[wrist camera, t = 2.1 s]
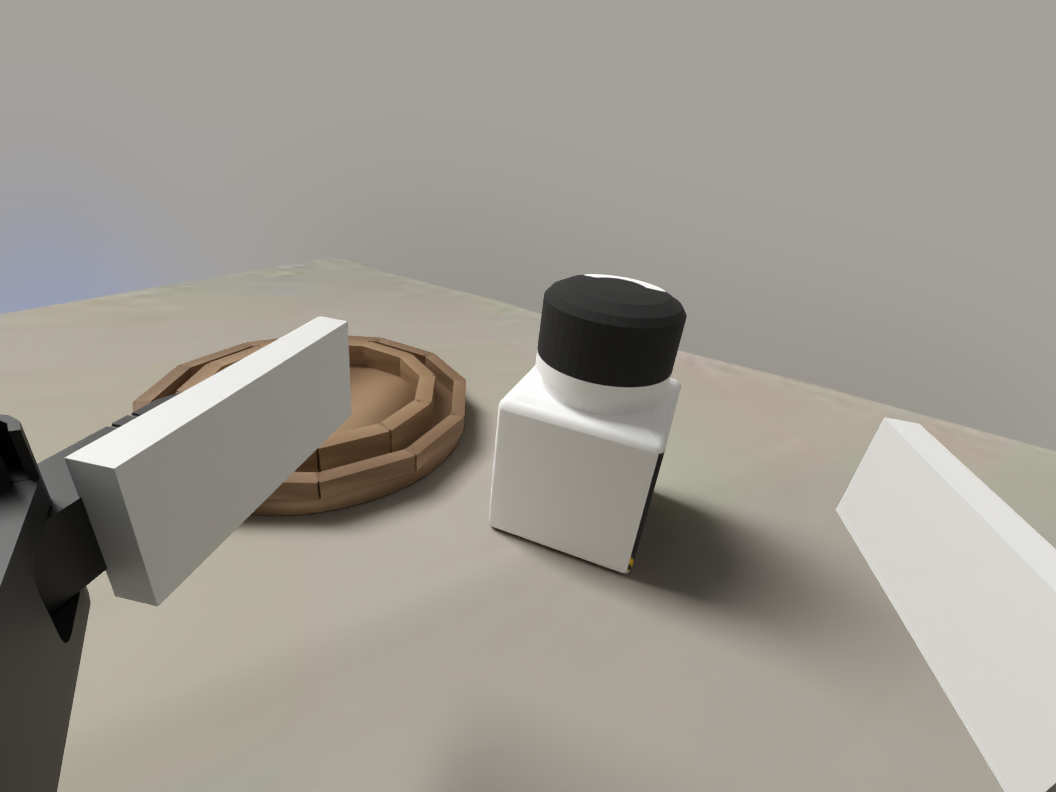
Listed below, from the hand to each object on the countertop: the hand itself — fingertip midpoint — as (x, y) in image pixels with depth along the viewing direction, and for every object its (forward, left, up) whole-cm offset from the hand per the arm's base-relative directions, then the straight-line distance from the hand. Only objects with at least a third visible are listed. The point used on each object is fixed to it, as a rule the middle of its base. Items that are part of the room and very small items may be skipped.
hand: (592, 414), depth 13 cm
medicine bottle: (-3, -10, -11) cm, 15 cm away
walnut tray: (+12, -18, -11) cm, 24 cm away
